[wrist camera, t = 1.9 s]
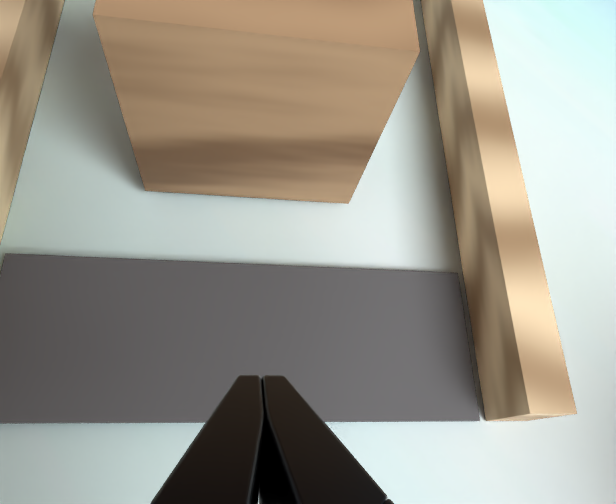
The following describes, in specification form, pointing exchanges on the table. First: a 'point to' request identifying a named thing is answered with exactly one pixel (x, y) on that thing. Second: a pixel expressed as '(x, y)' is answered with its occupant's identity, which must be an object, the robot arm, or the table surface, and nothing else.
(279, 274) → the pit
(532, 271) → the channel
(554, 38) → the table surface
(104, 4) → the wooden block
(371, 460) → the table surface
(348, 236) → the table surface
